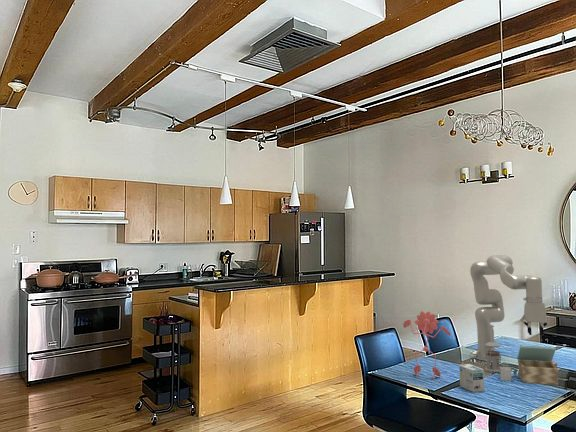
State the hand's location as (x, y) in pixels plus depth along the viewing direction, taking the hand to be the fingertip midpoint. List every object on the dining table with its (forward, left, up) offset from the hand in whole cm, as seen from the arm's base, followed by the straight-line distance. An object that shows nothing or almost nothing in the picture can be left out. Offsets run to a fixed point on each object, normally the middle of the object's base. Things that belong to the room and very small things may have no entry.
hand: (535, 334), depth 241 cm
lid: (0, +1, -11) cm, 11 cm away
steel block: (-16, -5, -23) cm, 29 cm away
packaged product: (+7, +18, -24) cm, 31 cm away
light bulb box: (-34, -25, -24) cm, 48 cm away
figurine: (-55, -8, -24) cm, 60 cm away
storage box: (0, -1, -23) cm, 23 cm away
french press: (-20, +13, -24) cm, 34 cm away
